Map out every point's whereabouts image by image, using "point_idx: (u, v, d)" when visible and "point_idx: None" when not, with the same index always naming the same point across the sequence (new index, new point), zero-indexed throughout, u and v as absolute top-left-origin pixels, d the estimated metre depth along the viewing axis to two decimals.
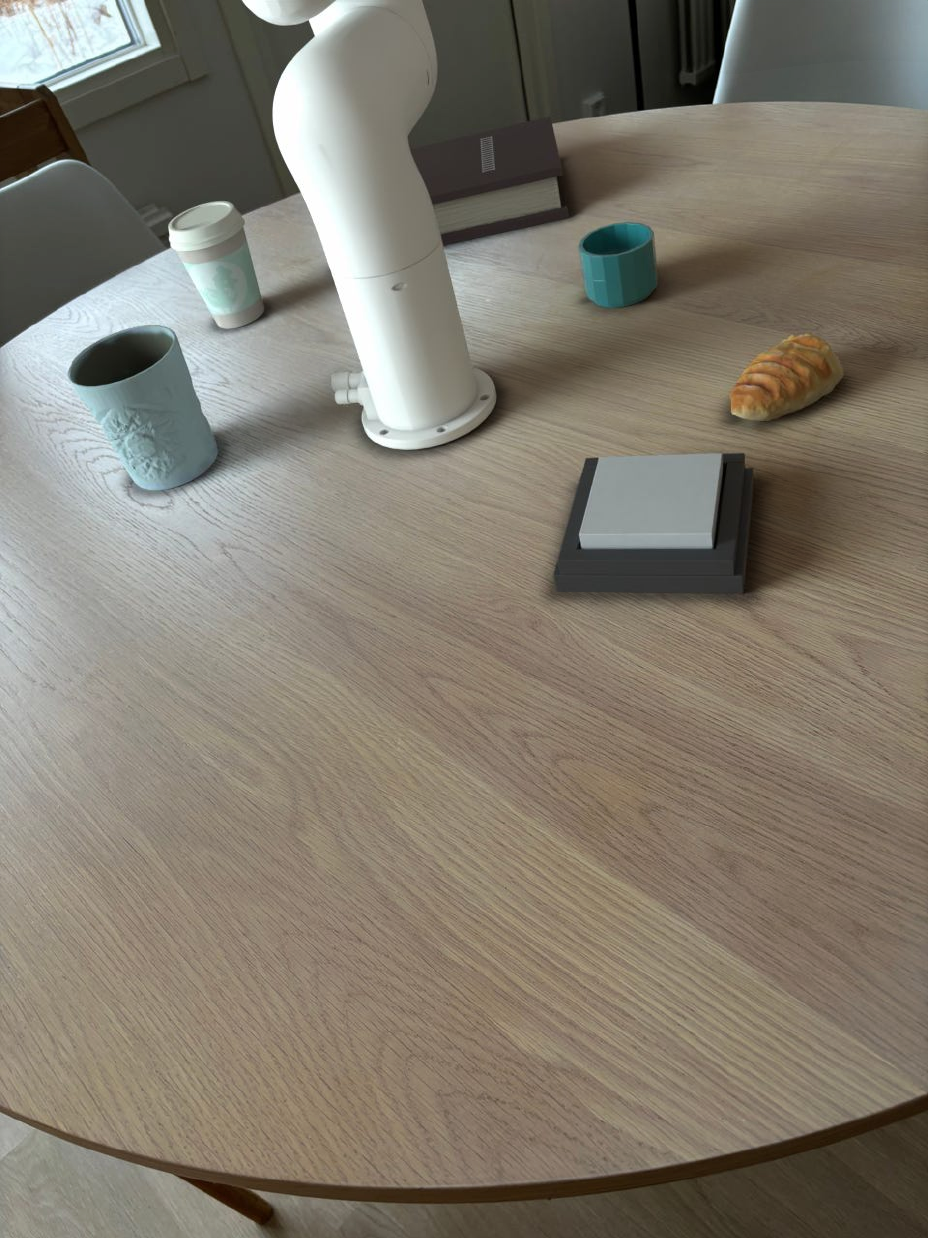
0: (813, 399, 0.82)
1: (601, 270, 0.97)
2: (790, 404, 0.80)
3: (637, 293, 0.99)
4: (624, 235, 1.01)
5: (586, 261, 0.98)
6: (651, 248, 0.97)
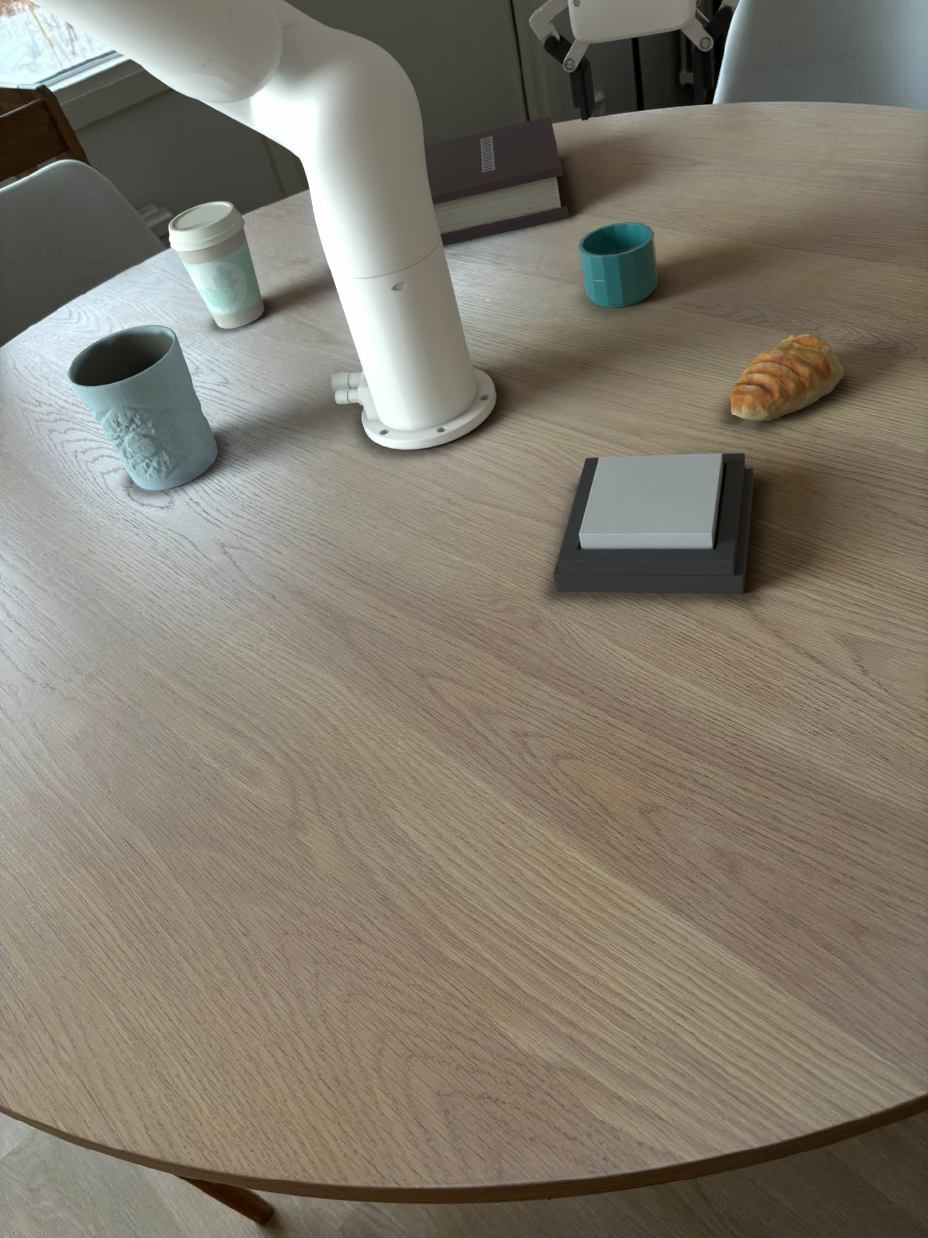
0: (813, 399, 0.82)
1: (601, 270, 0.97)
2: (790, 404, 0.80)
3: (637, 293, 0.99)
4: (624, 235, 1.01)
5: (586, 261, 0.98)
6: (651, 248, 0.97)
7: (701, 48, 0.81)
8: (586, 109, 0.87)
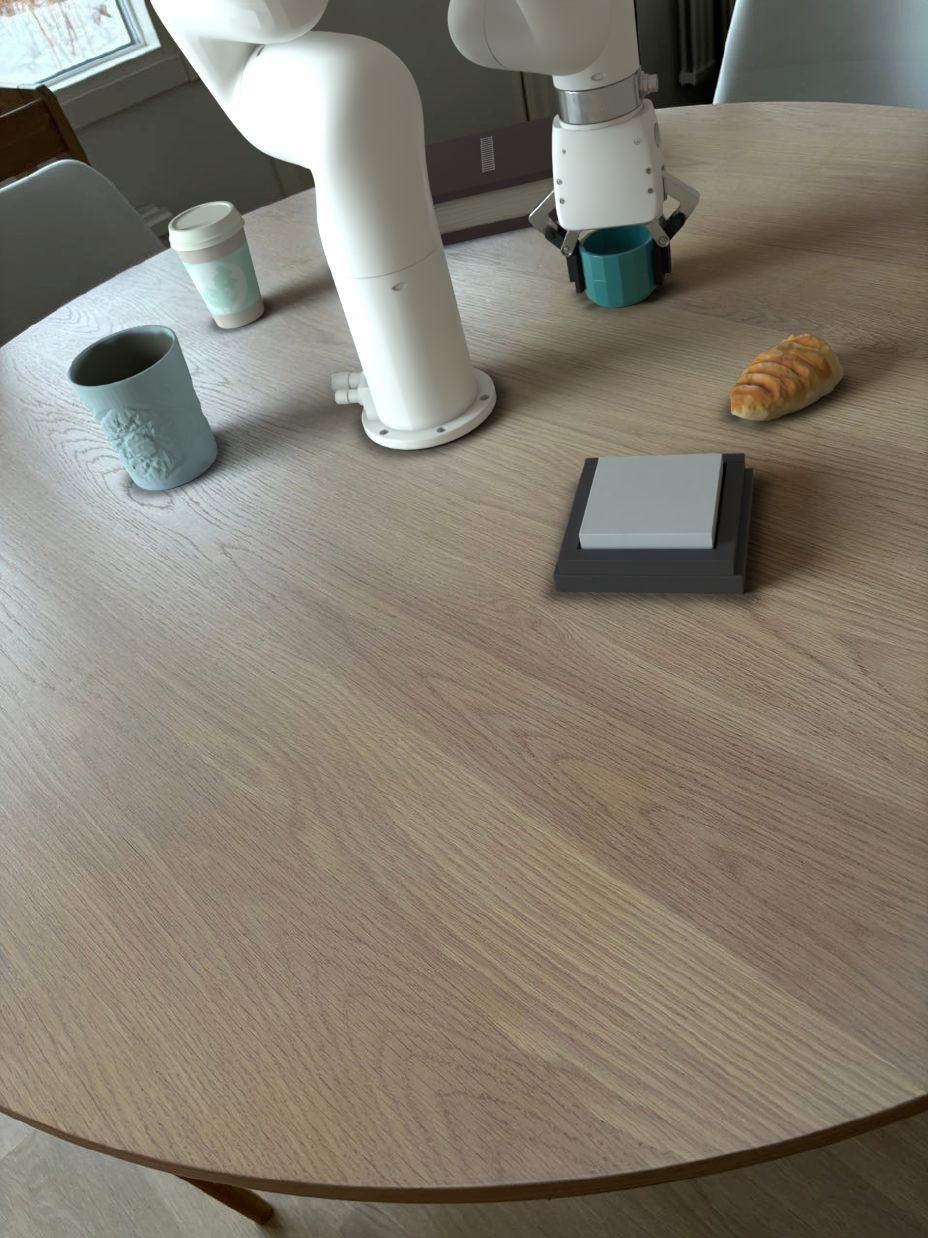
0: (813, 399, 0.82)
1: (601, 270, 0.97)
2: (790, 404, 0.80)
3: (637, 293, 0.99)
4: (624, 235, 1.01)
5: (586, 261, 0.98)
6: (651, 248, 0.97)
7: (659, 244, 0.97)
8: (580, 285, 1.01)
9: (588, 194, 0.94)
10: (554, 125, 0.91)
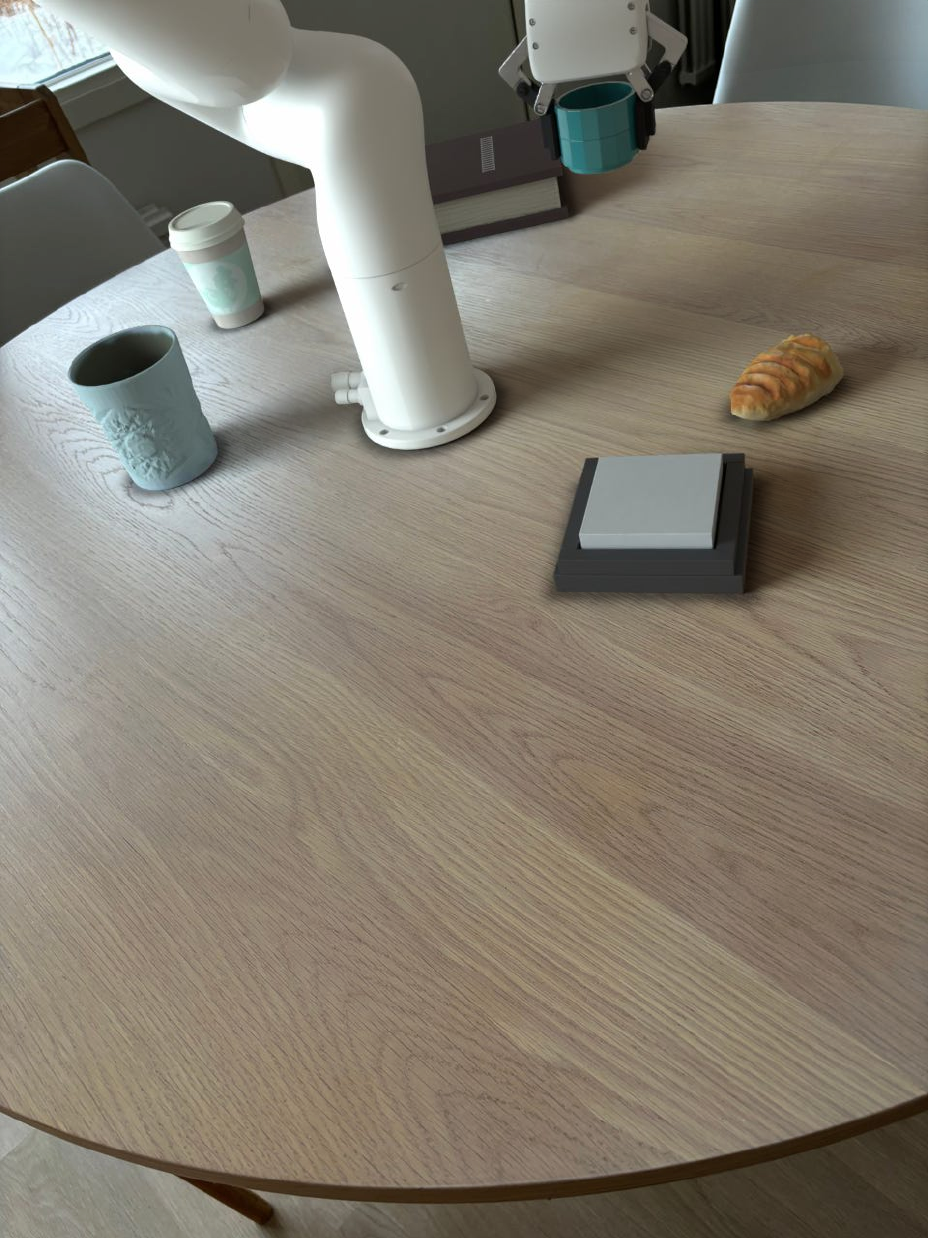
0: (813, 399, 0.82)
1: (578, 127, 0.88)
2: (790, 404, 0.80)
3: (617, 156, 0.89)
4: (604, 96, 0.92)
5: (562, 119, 0.89)
6: (634, 104, 0.88)
7: (642, 99, 0.87)
8: (556, 150, 0.92)
9: (564, 36, 0.84)
10: None
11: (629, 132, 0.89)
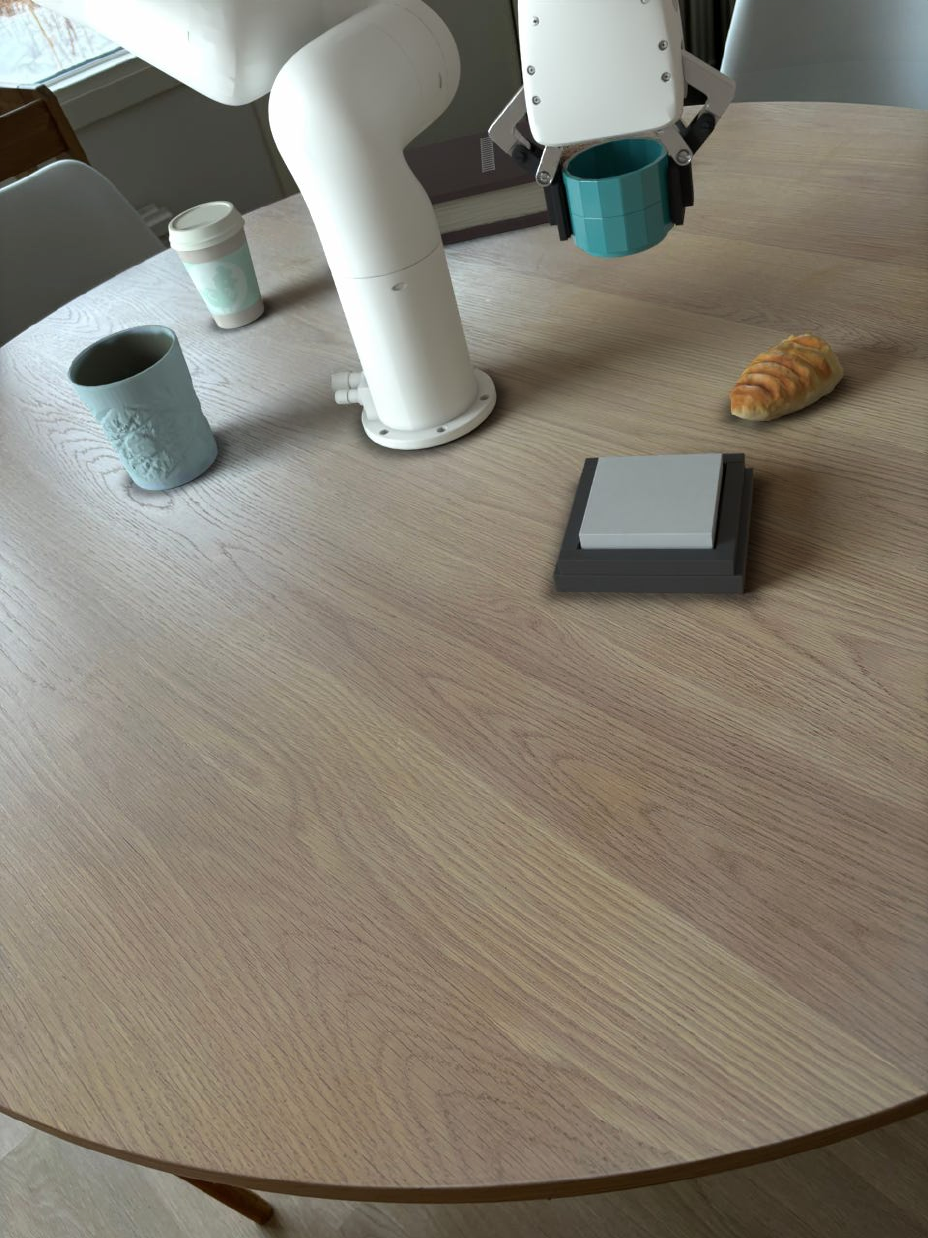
0: (813, 399, 0.82)
1: (596, 202, 0.68)
2: (790, 404, 0.80)
3: (647, 235, 0.69)
4: (625, 156, 0.72)
5: (573, 190, 0.68)
6: (666, 168, 0.68)
7: (678, 162, 0.67)
8: (565, 228, 0.71)
9: (574, 87, 0.64)
10: None
11: (661, 204, 0.68)
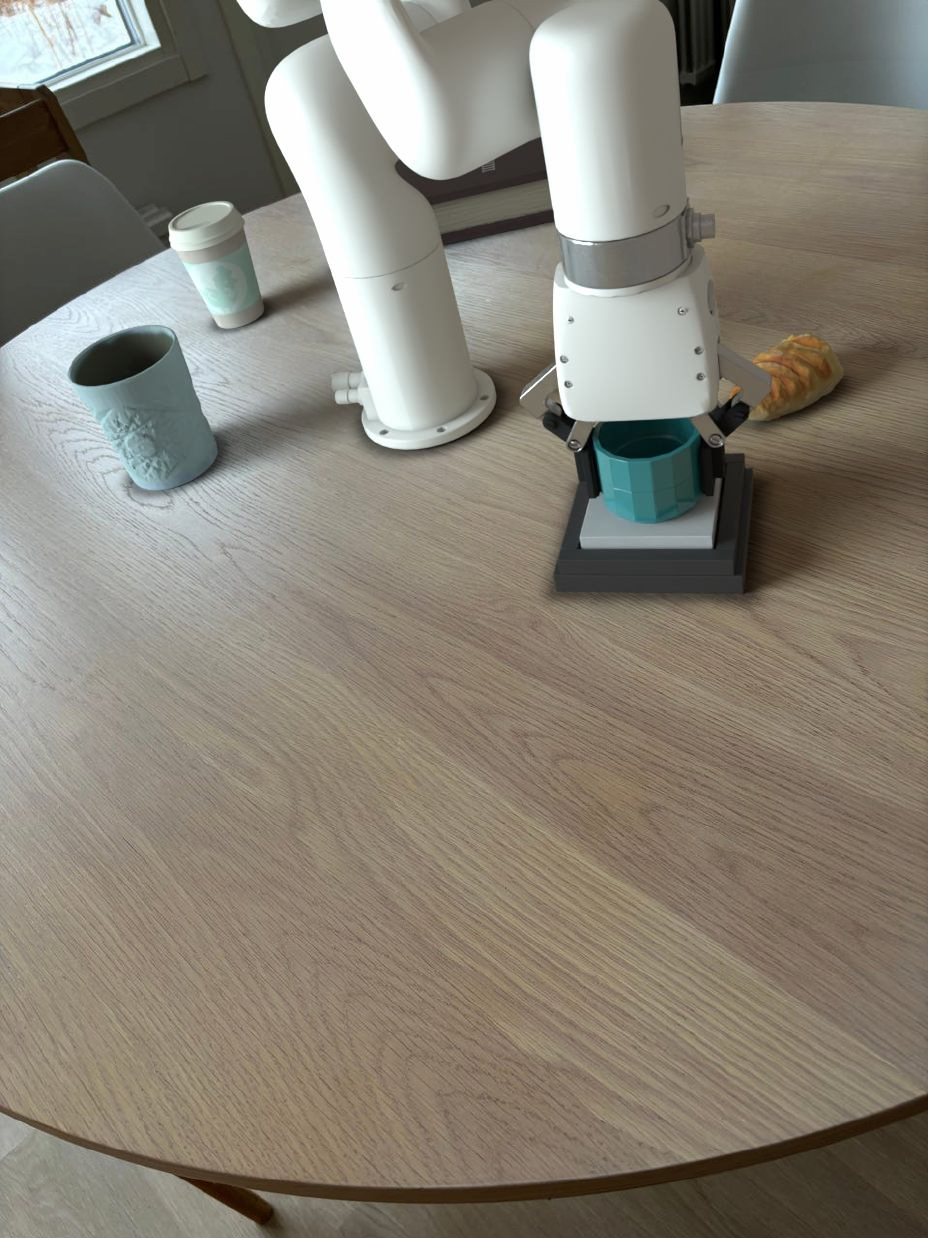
0: (813, 399, 0.82)
1: (625, 478, 0.67)
2: (790, 404, 0.80)
3: (676, 508, 0.68)
4: None
5: (603, 463, 0.68)
6: (698, 446, 0.67)
7: (710, 444, 0.66)
8: (594, 489, 0.71)
9: (607, 378, 0.63)
10: (556, 282, 0.61)
11: (692, 479, 0.68)
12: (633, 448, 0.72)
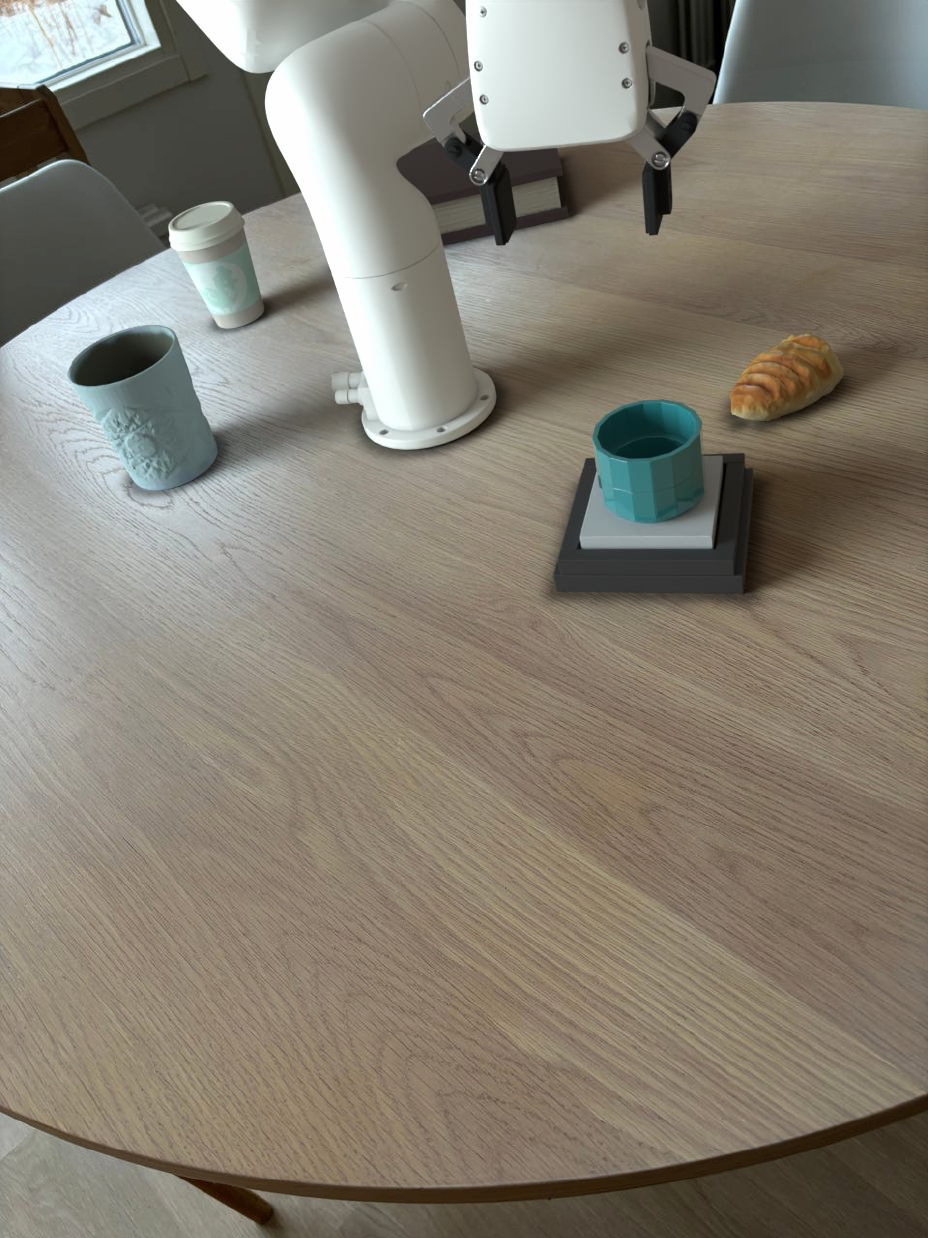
0: (813, 399, 0.82)
1: (625, 478, 0.67)
2: (790, 404, 0.80)
3: (676, 508, 0.68)
4: (657, 416, 0.71)
5: (603, 463, 0.68)
6: (698, 446, 0.67)
7: (654, 165, 0.59)
8: (502, 232, 0.65)
9: (525, 88, 0.57)
10: None
11: (692, 479, 0.68)
12: (633, 448, 0.72)
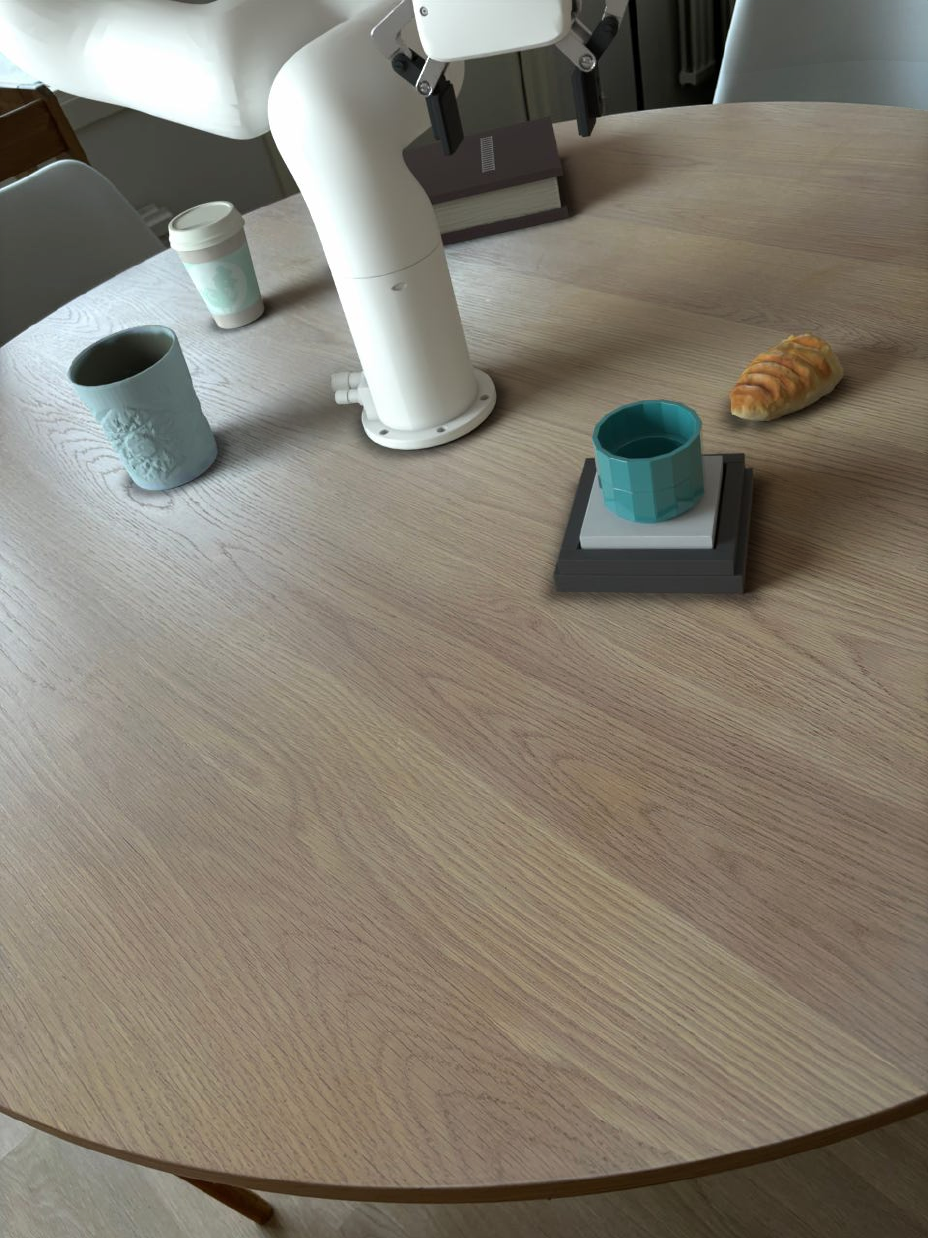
0: (813, 399, 0.82)
1: (625, 478, 0.67)
2: (790, 404, 0.80)
3: (676, 508, 0.68)
4: (657, 416, 0.71)
5: (603, 463, 0.68)
6: (698, 446, 0.67)
7: (582, 68, 0.65)
8: (448, 142, 0.70)
9: None
10: None
11: (692, 479, 0.68)
12: (633, 448, 0.72)
